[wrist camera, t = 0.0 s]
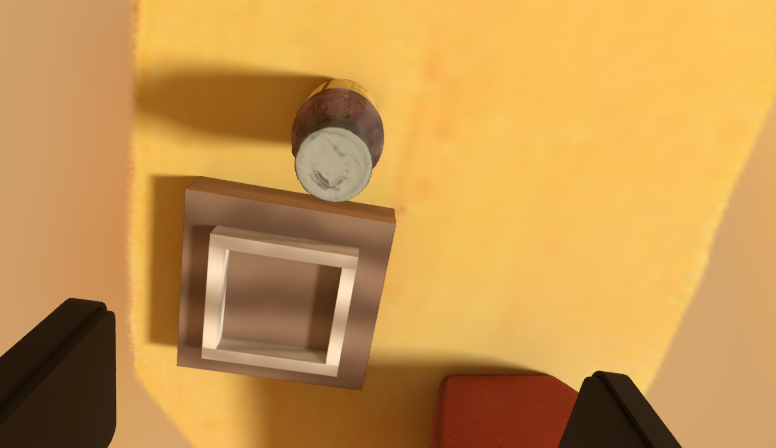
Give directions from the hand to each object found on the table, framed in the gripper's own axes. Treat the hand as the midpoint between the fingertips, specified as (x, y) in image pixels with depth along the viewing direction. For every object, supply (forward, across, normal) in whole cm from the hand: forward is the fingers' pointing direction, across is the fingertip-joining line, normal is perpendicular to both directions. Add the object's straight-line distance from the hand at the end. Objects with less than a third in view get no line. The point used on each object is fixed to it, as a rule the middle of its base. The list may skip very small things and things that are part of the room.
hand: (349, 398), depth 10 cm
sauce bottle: (+37, +2, 0) cm, 37 cm away
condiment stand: (+37, +5, +17) cm, 41 cm away
